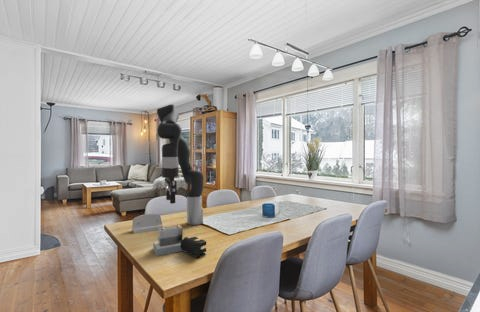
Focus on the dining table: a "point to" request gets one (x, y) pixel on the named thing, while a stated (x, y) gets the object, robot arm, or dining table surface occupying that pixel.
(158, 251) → the stand
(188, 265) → the dining table surface
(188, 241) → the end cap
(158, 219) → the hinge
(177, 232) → the housing
